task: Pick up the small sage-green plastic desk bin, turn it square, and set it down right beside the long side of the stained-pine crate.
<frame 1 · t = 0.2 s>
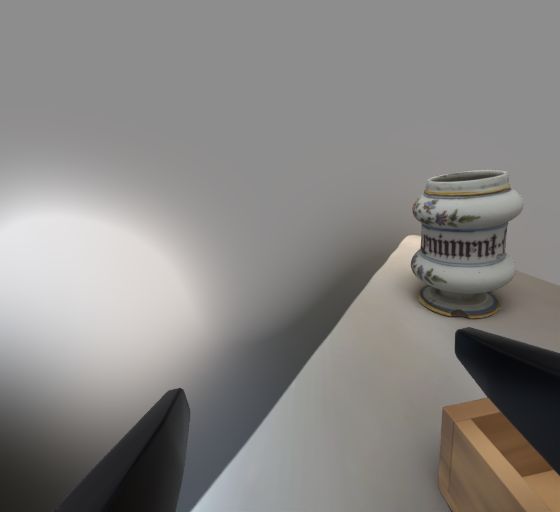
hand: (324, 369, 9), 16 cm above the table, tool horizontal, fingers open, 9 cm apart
apothecary jar: (456, 301, 39), on the table
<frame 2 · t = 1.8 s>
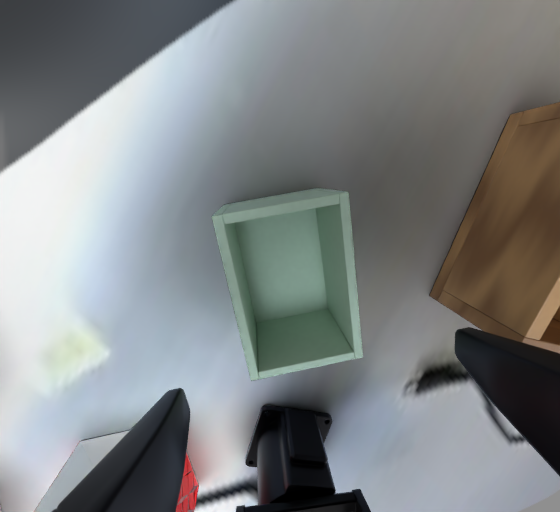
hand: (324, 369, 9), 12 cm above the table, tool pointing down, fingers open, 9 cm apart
red and white cube: (143, 462, 24), on the table
bin: (282, 261, 20), on the table
crate: (524, 230, 21), on the table
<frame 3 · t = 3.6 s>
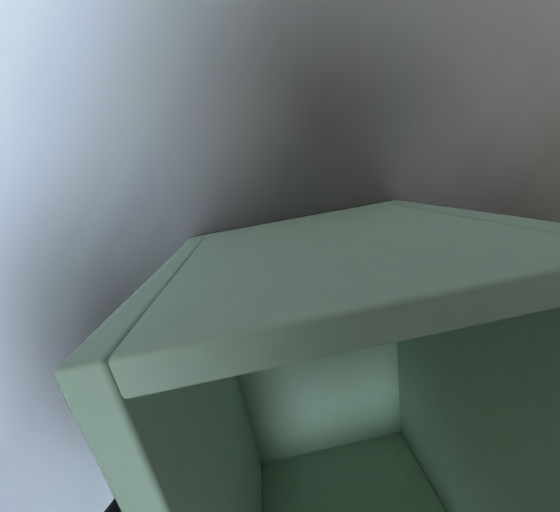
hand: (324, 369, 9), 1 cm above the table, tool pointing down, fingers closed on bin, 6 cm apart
bin: (314, 346, 10), on the table, touching gripper
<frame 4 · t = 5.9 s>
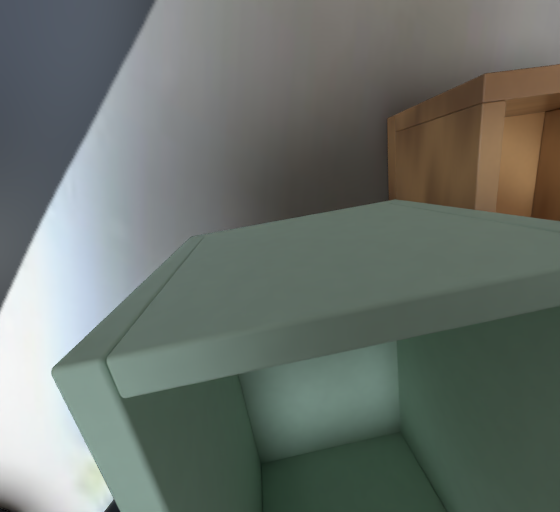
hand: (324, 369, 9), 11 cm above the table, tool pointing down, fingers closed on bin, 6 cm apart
bin: (314, 345, 10), point 10 cm above the table, touching gripper
crate: (461, 213, 19), on the table
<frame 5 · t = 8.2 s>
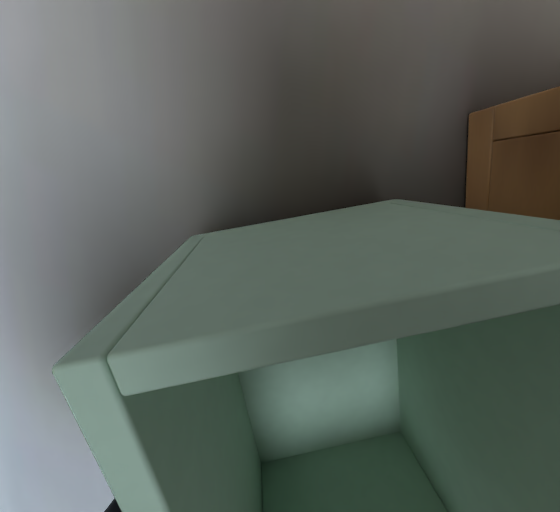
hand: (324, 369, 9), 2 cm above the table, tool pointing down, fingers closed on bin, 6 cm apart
bin: (314, 345, 10), point 1 cm above the table, touching gripper
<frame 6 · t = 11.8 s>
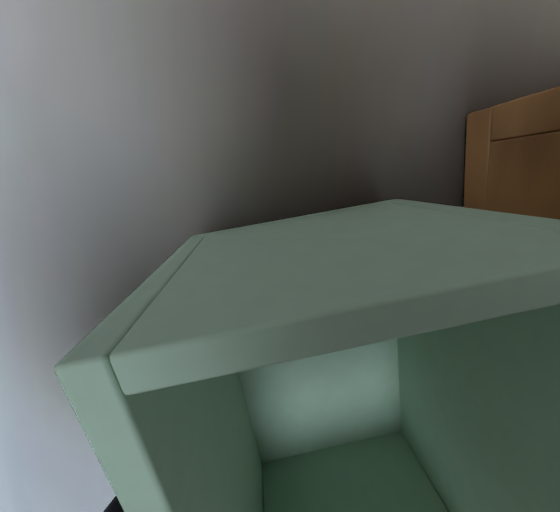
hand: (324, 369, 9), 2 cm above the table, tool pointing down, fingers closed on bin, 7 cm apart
bin: (315, 345, 10), point 1 cm above the table, touching gripper
when the fingers open (2 cm above the table, at t = 11.8 s): bin stays where it is, on the table.
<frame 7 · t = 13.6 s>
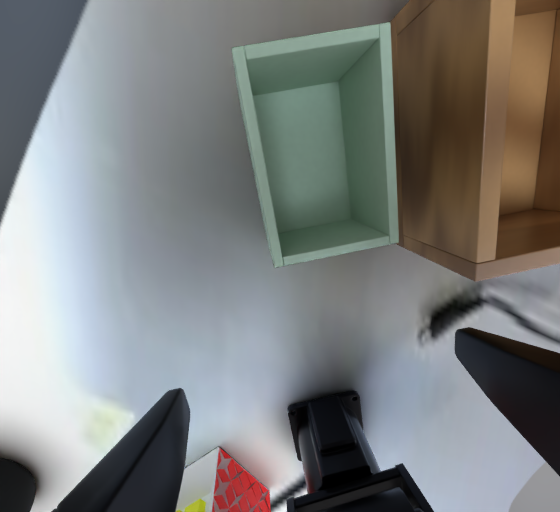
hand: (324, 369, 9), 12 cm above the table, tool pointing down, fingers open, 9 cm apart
red and white cube: (212, 487, 26), on the table
bin: (301, 163, 18), on the table
crate: (467, 133, 18), on the table
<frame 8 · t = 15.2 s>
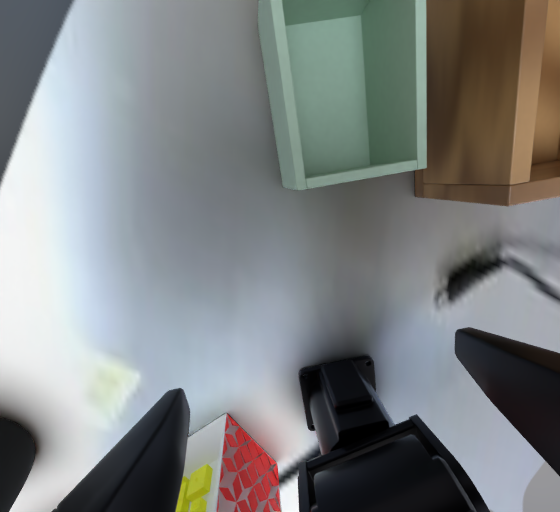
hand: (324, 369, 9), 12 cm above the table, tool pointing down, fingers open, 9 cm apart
red and white cube: (218, 458, 25), on the table
bin: (320, 104, 17), on the table
crate: (490, 79, 18), on the table
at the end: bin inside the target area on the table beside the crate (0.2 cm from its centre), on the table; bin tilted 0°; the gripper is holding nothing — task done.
